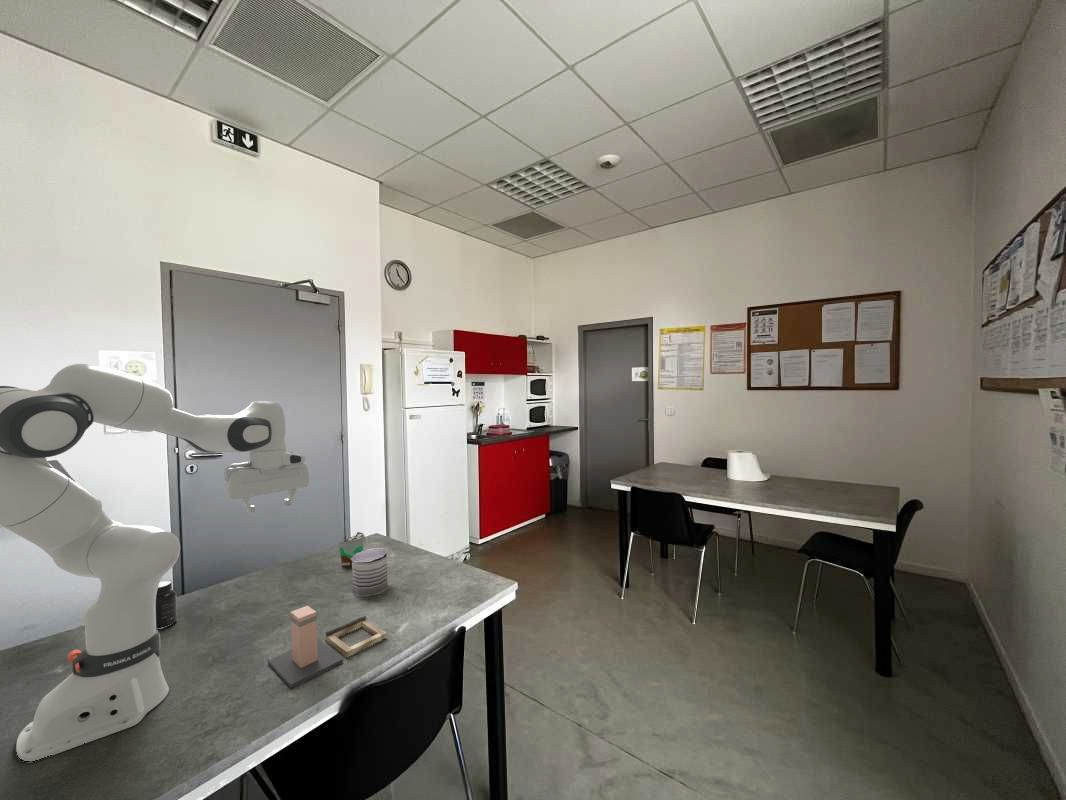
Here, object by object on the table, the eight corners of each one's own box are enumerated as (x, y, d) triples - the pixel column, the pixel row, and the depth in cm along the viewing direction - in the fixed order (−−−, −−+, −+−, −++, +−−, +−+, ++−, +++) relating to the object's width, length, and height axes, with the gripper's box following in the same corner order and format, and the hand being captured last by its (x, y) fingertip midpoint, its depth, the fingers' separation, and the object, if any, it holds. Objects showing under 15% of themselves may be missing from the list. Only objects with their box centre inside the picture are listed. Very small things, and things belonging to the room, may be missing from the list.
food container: (354, 569, 165) (353, 543, 164) (339, 568, 166) (338, 542, 165) (372, 557, 177) (371, 532, 176) (358, 556, 178) (357, 531, 178)
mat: (290, 688, 100) (290, 684, 100) (268, 663, 109) (267, 660, 109) (342, 662, 109) (342, 659, 109) (317, 641, 118) (317, 638, 118)
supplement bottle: (140, 630, 126) (138, 588, 125) (165, 617, 132) (163, 577, 132) (159, 632, 124) (157, 590, 124) (183, 620, 131) (181, 579, 130)
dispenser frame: (346, 658, 111) (346, 648, 111) (325, 640, 119) (325, 631, 118) (386, 638, 119) (386, 629, 119) (364, 623, 127) (363, 614, 127)
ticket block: (300, 668, 106) (298, 618, 105) (292, 659, 109) (290, 611, 109) (318, 660, 109) (316, 611, 108) (309, 652, 112) (307, 605, 112)
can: (381, 596, 143) (380, 559, 143) (346, 597, 143) (345, 560, 143) (392, 580, 154) (391, 546, 154) (360, 581, 154) (359, 547, 154)
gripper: (227, 466, 113) (230, 519, 114) (310, 455, 129) (312, 503, 129) (220, 463, 117) (222, 515, 118) (301, 453, 133) (303, 499, 133)
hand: (270, 509), depth 124 cm, fingers open, 8 cm apart
